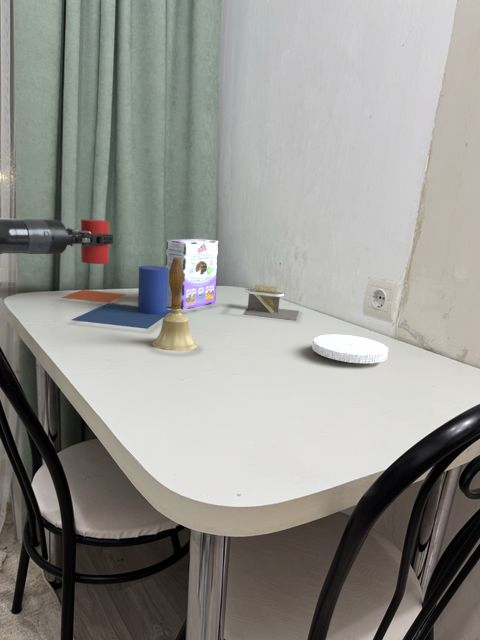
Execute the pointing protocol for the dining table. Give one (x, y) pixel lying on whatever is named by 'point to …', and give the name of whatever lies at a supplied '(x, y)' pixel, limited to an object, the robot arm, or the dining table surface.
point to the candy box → (194, 271)
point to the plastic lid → (350, 348)
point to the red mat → (94, 296)
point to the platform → (267, 304)
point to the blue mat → (121, 316)
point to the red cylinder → (95, 252)
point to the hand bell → (175, 317)
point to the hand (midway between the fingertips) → (102, 237)
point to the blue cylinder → (152, 289)
